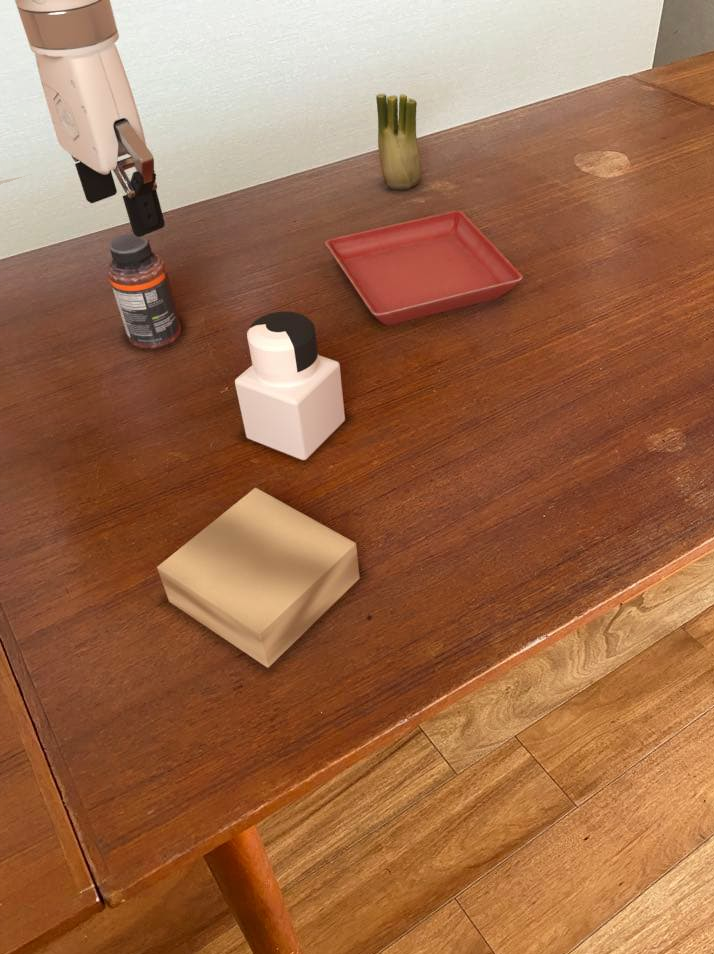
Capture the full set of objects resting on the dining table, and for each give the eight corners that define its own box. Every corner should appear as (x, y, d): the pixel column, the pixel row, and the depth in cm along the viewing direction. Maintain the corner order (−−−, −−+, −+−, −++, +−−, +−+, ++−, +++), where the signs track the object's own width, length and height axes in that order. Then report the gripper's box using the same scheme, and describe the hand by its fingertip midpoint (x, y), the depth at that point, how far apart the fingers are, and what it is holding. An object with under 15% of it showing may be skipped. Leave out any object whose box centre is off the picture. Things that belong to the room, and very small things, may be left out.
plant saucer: (375, 340, 95) (374, 314, 92) (325, 263, 106) (322, 238, 104) (523, 304, 99) (526, 277, 97) (459, 234, 111) (460, 209, 108)
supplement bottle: (150, 316, 99) (124, 223, 91) (193, 328, 97) (170, 234, 89) (117, 344, 96) (87, 249, 87) (160, 357, 94) (134, 261, 86)
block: (268, 670, 65) (259, 634, 62) (169, 603, 70) (156, 567, 67) (360, 580, 71) (356, 543, 68) (263, 524, 76) (255, 487, 73)
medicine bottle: (288, 399, 88) (271, 294, 79) (346, 421, 86) (336, 315, 77) (245, 439, 84) (222, 333, 75) (305, 463, 81) (288, 356, 73)
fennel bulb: (375, 183, 121) (370, 92, 112) (404, 174, 123) (402, 84, 114) (397, 198, 118) (394, 106, 109) (427, 189, 120) (426, 97, 111)
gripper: (-13, 12, 77) (52, 198, 89) (75, 59, 68) (134, 259, 80) (65, -8, 80) (117, 175, 93) (159, 35, 71) (203, 231, 83)
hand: (125, 214), depth 86 cm, fingers open, 9 cm apart
